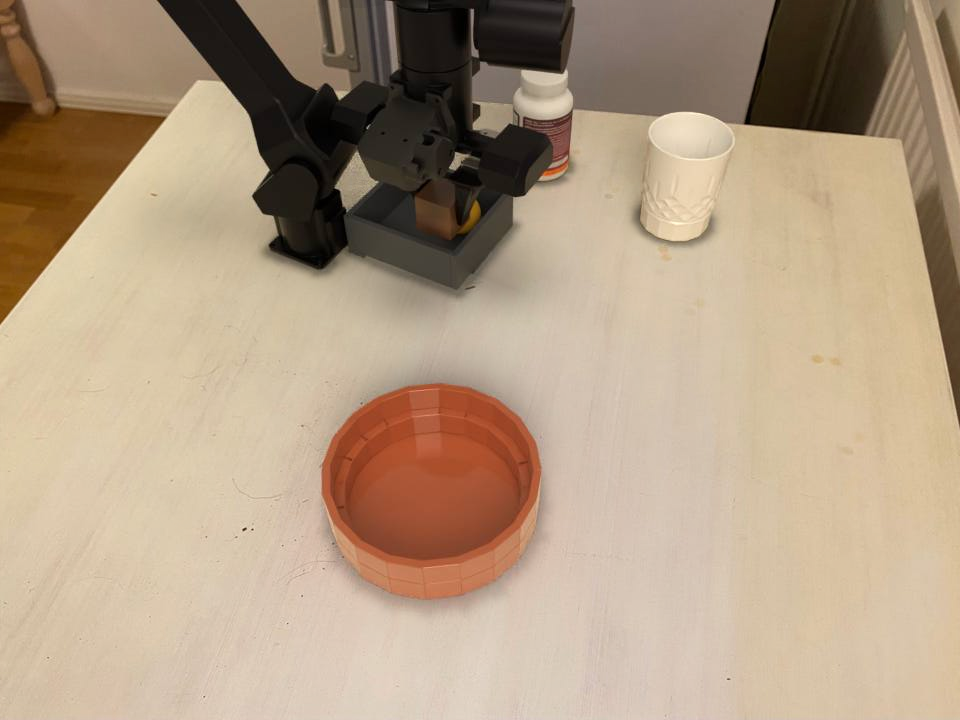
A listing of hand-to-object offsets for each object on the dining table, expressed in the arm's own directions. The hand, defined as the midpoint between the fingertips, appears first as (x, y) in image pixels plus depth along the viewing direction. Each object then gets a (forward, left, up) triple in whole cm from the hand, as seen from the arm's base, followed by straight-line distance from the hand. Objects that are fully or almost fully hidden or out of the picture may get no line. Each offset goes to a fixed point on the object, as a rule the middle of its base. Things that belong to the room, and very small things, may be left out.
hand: (443, 216), depth 74 cm
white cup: (+17, +17, -6) cm, 24 cm away
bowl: (+13, -23, -6) cm, 27 cm away
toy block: (0, 0, -1) cm, 1 cm away
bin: (-3, +3, -6) cm, 7 cm away
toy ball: (0, +5, -5) cm, 7 cm away
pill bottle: (+1, +19, -6) cm, 19 cm away
